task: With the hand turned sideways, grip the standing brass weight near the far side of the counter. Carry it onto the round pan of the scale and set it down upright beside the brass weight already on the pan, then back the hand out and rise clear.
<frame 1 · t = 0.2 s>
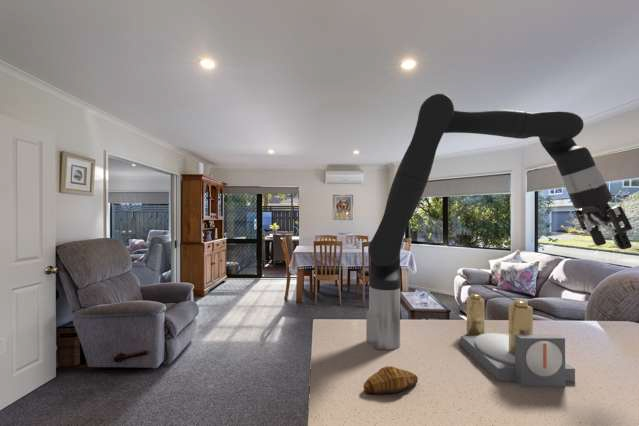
hand: (612, 246, 73), 31 cm above the kitchen counter, tool tilted 20°, fingers open, 8 cm apart
scale: (511, 361, 77), on the kitchen counter
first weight: (520, 353, 73), point 4 cm above the kitchen counter, touching scale
croissant: (391, 389, 65), on the kitchen counter
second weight: (475, 335, 93), on the kitchen counter
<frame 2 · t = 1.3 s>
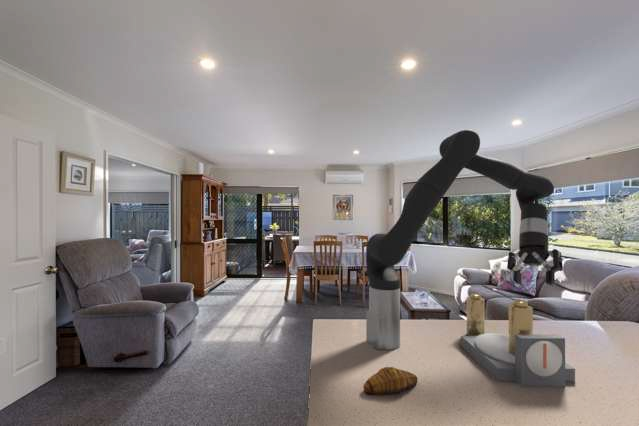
hand: (533, 284, 87), 18 cm above the kitchen counter, tool tilted 25°, fingers open, 8 cm apart
nothing on the kitchen counter moved.
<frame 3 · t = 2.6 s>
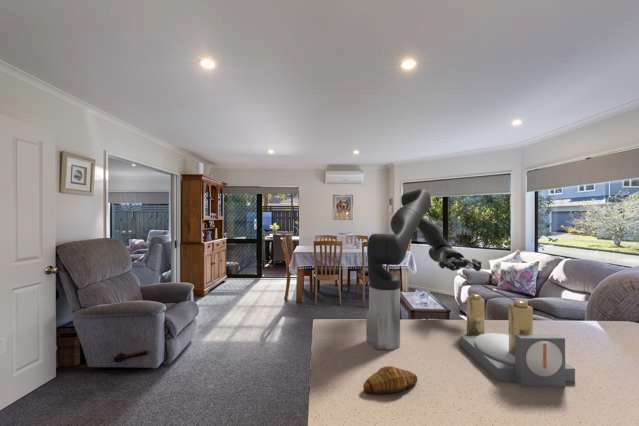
hand: (465, 268, 102), 20 cm above the kitchen counter, tool horizontal, fingers open, 8 cm apart
nothing on the kitchen counter moved.
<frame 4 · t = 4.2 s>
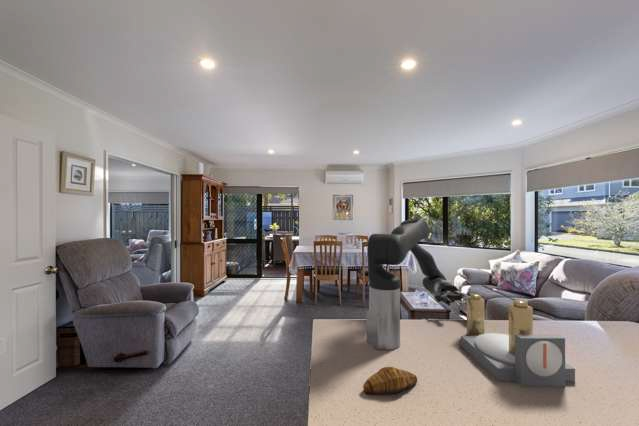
hand: (461, 303, 104), 7 cm above the kitchen counter, tool horizontal, fingers open, 8 cm apart
nothing on the kitchen counter moved.
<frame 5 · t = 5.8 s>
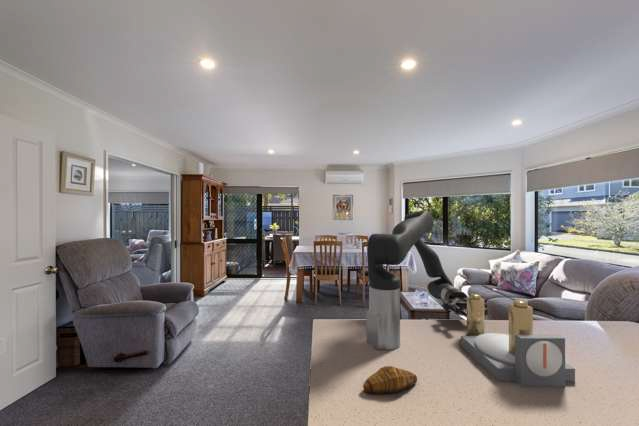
hand: (472, 312, 95), 7 cm above the kitchen counter, tool horizontal, fingers open, 8 cm apart
nothing on the kitchen counter moved.
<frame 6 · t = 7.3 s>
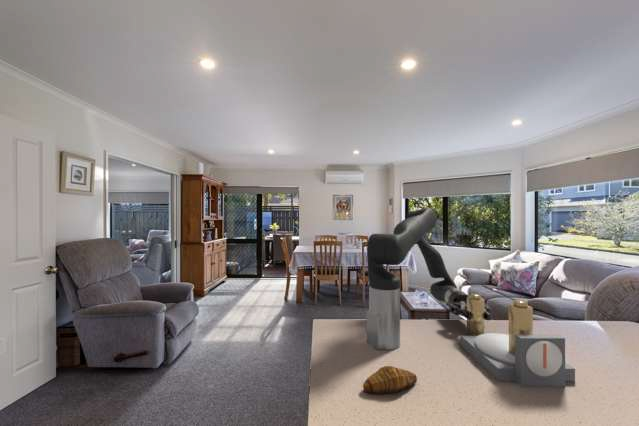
hand: (479, 316, 90), 7 cm above the kitchen counter, tool horizontal, fingers closed on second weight, 5 cm apart
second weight: (475, 335, 93), on the kitchen counter, touching gripper
everything else where it was.
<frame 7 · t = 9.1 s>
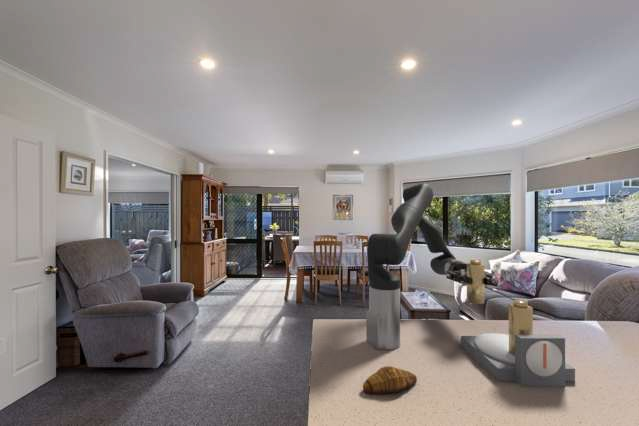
hand: (479, 281, 90), 18 cm above the kitchen counter, tool horizontal, fingers closed on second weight, 5 cm apart
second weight: (475, 301, 93), point 11 cm above the kitchen counter, touching gripper
everything else where it was.
when the fingers open (12 cm above the kitchen counter, at t = 11.9 s): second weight drops 1 cm, resting on scale.
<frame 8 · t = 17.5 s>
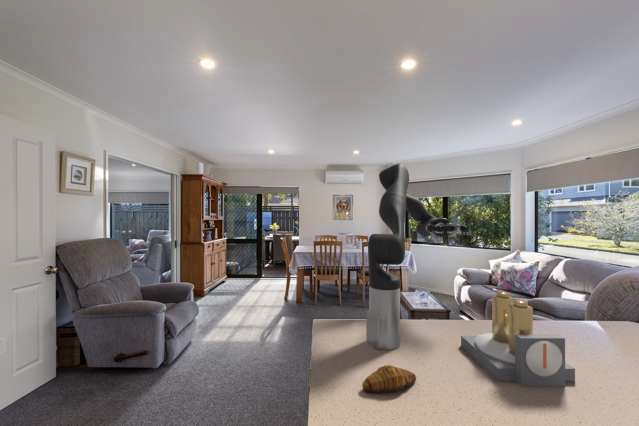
hand: (453, 229, 100), 34 cm above the kitchen counter, tool horizontal, fingers open, 8 cm apart
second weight: (502, 339, 81), point 4 cm above the kitchen counter, touching scale
everything else where it was.
at the end: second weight inside the target area on the scale (0.1 cm from its centre), point 4.0 cm above the scale's base; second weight tilted 0°; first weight moved 0.1 cm from its start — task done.
